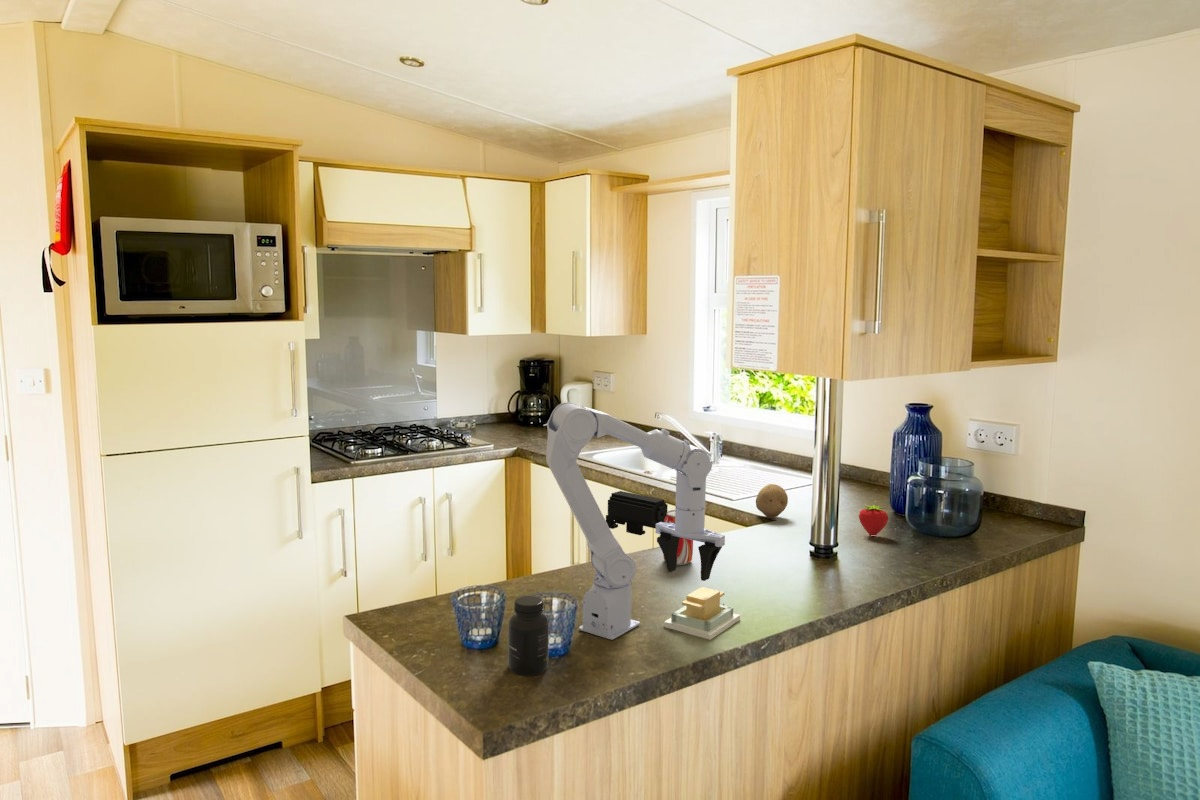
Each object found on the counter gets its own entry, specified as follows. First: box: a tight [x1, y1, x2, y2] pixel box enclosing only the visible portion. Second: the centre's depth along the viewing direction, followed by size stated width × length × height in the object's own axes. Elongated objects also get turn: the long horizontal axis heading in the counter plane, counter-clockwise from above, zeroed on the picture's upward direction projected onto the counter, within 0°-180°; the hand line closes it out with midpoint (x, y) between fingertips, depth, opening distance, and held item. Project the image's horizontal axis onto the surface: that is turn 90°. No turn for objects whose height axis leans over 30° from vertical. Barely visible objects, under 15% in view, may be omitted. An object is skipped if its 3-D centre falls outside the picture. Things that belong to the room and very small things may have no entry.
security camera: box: [605, 490, 668, 536], centre depth 221 cm, size 7×18×10 cm, turn 51°
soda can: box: [663, 509, 694, 566], centre depth 196 cm, size 7×7×12 cm
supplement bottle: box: [507, 595, 550, 677], centre depth 140 cm, size 7×7×12 cm
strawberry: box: [858, 500, 889, 536], centre depth 219 cm, size 6×8×10 cm
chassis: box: [663, 602, 741, 641], centre depth 160 cm, size 12×10×2 cm
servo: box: [681, 586, 725, 621], centre depth 160 cm, size 10×4×5 cm, turn 144°
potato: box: [755, 483, 789, 519], centre depth 236 cm, size 9×9×10 cm
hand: (688, 575), depth 162 cm, fingers open, 7 cm apart
